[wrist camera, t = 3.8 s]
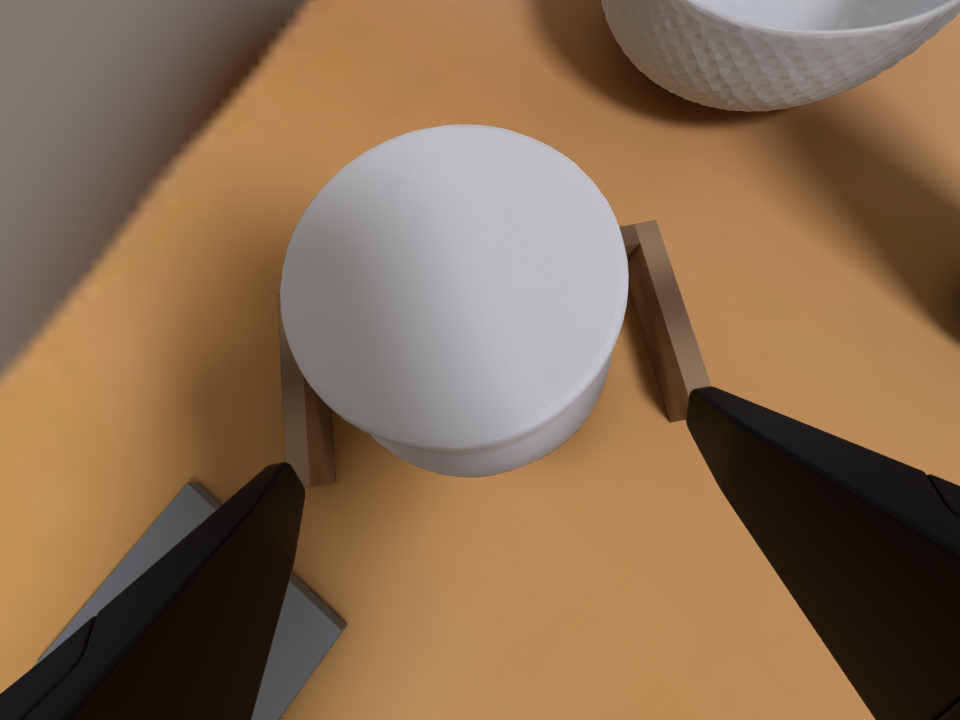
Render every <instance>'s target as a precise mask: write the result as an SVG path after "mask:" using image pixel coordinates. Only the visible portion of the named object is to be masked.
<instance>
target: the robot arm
mask: <svg viewBox="0 0 960 720" xmlns="http://www.w3.org/2000/svg"><path fill="white" fill-rule="evenodd" d="M686 423H687V427H688V429H689V431H690V433H691V435H692V437H693V439H694V441H695V442H696V444H697V446H698V448H699V450H700V452H701V454H702V456H703V458H704V460H705V461H706V463H707V465H708V467H709V469H710V471H711V473H712V475H713V477H714V478H715V480H716V482H717V484H718V486H719V487H720V489H721V491H722V492H723V494H724V495H725V497H726V499H727V500H728V502H729V503H730V505H731V506H732V508H733V509H734V510H735V512H736V513H737V515H738V516H739V518H740V519H741V521H742V522H743V524H744V525H745V527H746V528H747V530H748V531H749V533H750V534H751V536H752V537H753V539H754V540H755V542H756V543H757V545H758V546H759V548H760V549H761V551H762V552H763V553H764V555H765V556H766V558H767V559H768V561H769V562H770V564H771V565H772V567H773V568H774V570H775V571H776V573H777V574H778V576H779V577H780V579H781V580H782V582H783V583H784V585H785V586H786V588H787V589H788V591H789V592H790V593H791V595H792V596H793V598H794V599H795V601H796V602H797V604H798V605H799V607H800V608H801V610H802V611H803V613H804V614H805V616H806V617H807V619H808V620H809V622H810V623H811V625H812V626H813V628H814V629H815V631H816V632H817V634H818V635H819V636H820V638H821V639H822V641H823V642H824V644H825V645H826V647H827V648H828V650H829V651H830V653H831V654H832V656H833V657H834V659H835V660H836V662H837V663H838V665H839V666H840V668H841V669H842V671H843V672H844V674H845V675H846V677H847V678H848V679H849V681H850V682H851V684H852V685H853V687H854V688H855V690H856V691H857V693H858V694H859V696H860V697H861V699H862V700H863V702H864V703H865V705H866V706H867V708H868V709H869V711H870V712H871V714H872V715H873V717H874V718H875V720H960V486H958V485H956V484H954V483H951V482H949V481H946V480H944V479H941V478H939V477H936V476H934V475H931V474H929V475H926V474H925V472H923V471H921V470H919V469H916V468H914V467H911V466H909V465H906V464H904V463H901V462H899V461H896V460H894V459H891V458H889V457H886V456H884V455H881V454H879V453H876V452H874V451H872V450H869V449H867V448H864V447H862V446H859V445H857V444H854V443H852V442H849V441H847V440H844V439H842V438H839V437H837V436H834V435H832V434H829V433H827V432H824V431H822V430H819V429H817V428H815V427H812V426H810V425H807V424H805V423H802V422H800V421H797V420H795V419H792V418H790V417H787V416H785V415H782V414H780V413H777V412H775V411H772V410H770V409H767V408H765V407H762V406H760V405H757V404H755V403H753V402H750V401H748V400H745V399H743V398H740V397H738V396H735V395H733V394H730V393H728V392H725V391H723V390H720V389H718V388H715V387H712V386H707V387H701V388H696V389H693V390H692V391H691V392H690V394H689V400H688V407H687V414H686ZM304 500H305V489H304V486H303V484H302V482H301V480H300V479H299V477H298V475H297V474H296V472H295V470H294V469H293V467H292V466H291V464H289V463H287V462H282V463H277V464H271V465H269V466H267V467H266V468H264V469H263V470H262V471H261V472H260V473H259V474H258V475H256V476H255V477H254V478H253V479H252V480H251V481H249V482H248V483H247V484H246V485H245V486H244V487H242V488H241V489H240V490H239V491H238V492H237V493H235V494H234V495H233V496H232V497H231V498H230V499H229V500H227V501H226V502H225V503H224V504H223V505H222V506H220V507H219V508H218V509H217V510H216V511H215V512H213V513H212V514H211V515H210V516H209V517H208V518H207V519H205V520H204V521H203V522H202V523H201V524H200V525H198V526H197V527H196V528H195V529H194V530H193V531H191V532H190V533H189V534H188V535H187V536H186V537H185V538H183V539H182V540H181V541H180V542H179V543H178V544H176V545H175V546H174V547H173V548H172V549H171V550H169V551H168V552H167V553H166V554H165V555H164V556H162V557H161V558H160V559H159V560H158V561H157V562H156V563H154V564H153V565H152V566H151V567H150V568H149V569H147V570H146V571H145V572H144V573H143V574H142V575H140V576H139V577H138V578H137V579H136V580H135V581H134V582H132V583H131V584H130V585H129V586H128V587H127V588H125V589H124V590H123V591H122V592H121V593H120V594H118V595H117V596H116V597H115V598H114V599H113V600H112V601H110V602H109V603H108V604H107V605H106V606H105V607H103V608H102V609H101V610H100V611H99V612H98V613H97V616H93V617H92V618H90V619H89V620H88V621H87V622H86V623H85V624H84V625H82V626H81V627H80V628H79V629H78V630H77V631H76V632H74V633H73V634H72V635H71V636H70V637H69V638H67V639H66V640H65V641H64V642H63V643H61V644H60V645H59V646H58V647H57V648H56V649H54V650H53V651H52V652H51V653H50V654H48V655H47V656H46V657H45V658H44V659H43V660H41V661H40V662H39V663H38V664H37V665H35V666H34V667H33V668H32V669H31V670H30V671H28V672H27V673H26V674H25V675H23V676H22V677H21V678H20V679H18V680H17V681H16V682H15V683H13V684H12V685H11V686H10V687H9V688H7V689H6V690H5V691H4V692H2V693H1V694H0V720H251V719H252V715H253V712H254V708H255V704H256V701H257V697H258V693H259V690H260V686H261V682H262V679H263V675H264V671H265V668H266V664H267V660H268V657H269V653H270V649H271V646H272V642H273V638H274V635H275V631H276V627H277V624H278V620H279V616H280V613H281V609H282V605H283V602H284V598H285V594H286V591H287V587H288V583H289V580H290V576H291V572H292V568H293V564H294V560H295V555H296V549H297V543H298V537H299V531H300V525H301V519H302V513H303V507H304Z"/></svg>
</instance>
